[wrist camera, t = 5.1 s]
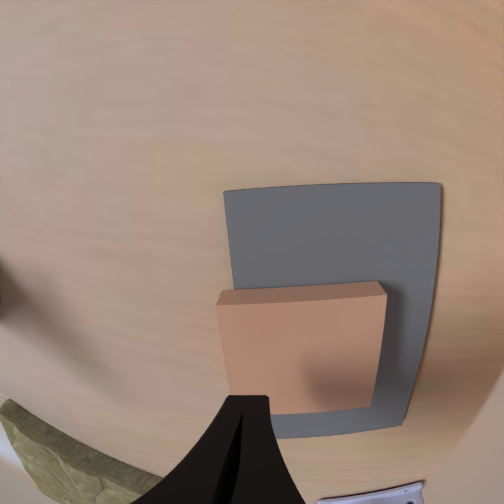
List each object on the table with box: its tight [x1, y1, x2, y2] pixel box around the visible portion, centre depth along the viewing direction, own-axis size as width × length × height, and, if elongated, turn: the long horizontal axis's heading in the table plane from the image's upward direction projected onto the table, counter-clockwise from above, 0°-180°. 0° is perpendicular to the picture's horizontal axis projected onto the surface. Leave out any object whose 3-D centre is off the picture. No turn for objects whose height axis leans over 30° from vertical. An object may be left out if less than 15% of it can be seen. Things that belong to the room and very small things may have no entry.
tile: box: [216, 281, 387, 414], centre depth 13 cm, size 2×6×6 cm
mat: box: [223, 182, 441, 439], centre depth 13 cm, size 9×14×1 cm, turn 5°
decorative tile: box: [0, 399, 163, 504], centre depth 21 cm, size 19×20×4 cm
